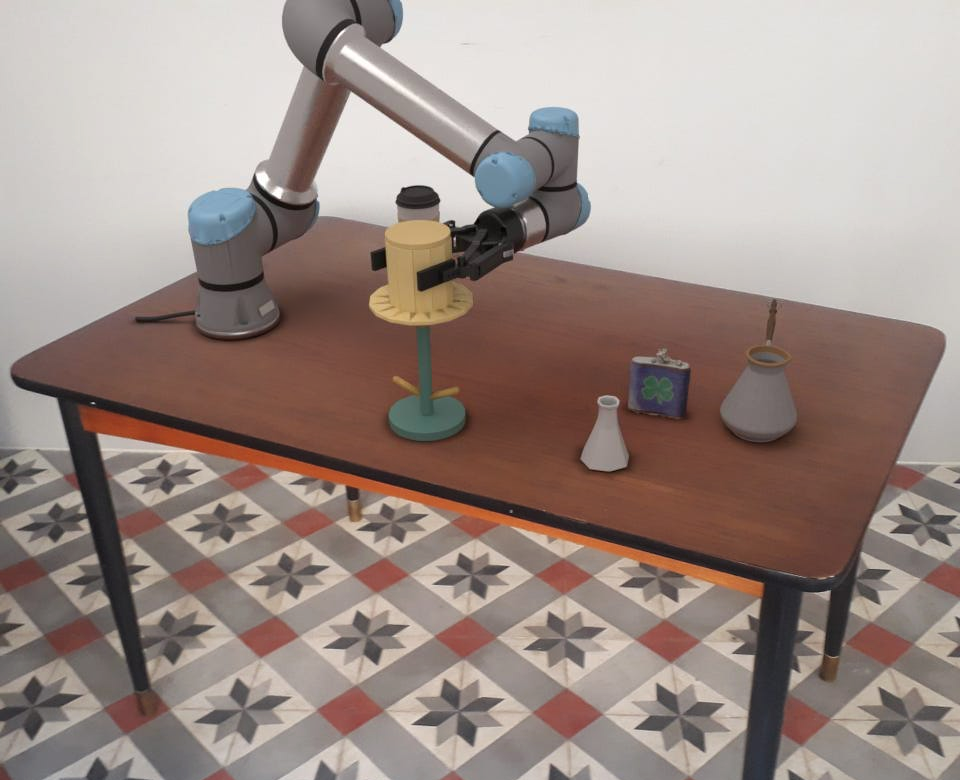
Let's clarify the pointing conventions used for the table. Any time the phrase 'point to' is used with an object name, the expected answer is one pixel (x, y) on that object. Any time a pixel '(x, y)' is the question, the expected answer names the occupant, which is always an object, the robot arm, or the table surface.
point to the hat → (405, 256)
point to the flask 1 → (606, 439)
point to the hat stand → (426, 402)
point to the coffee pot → (761, 393)
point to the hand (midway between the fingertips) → (395, 271)
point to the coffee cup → (418, 204)
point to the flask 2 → (659, 386)
